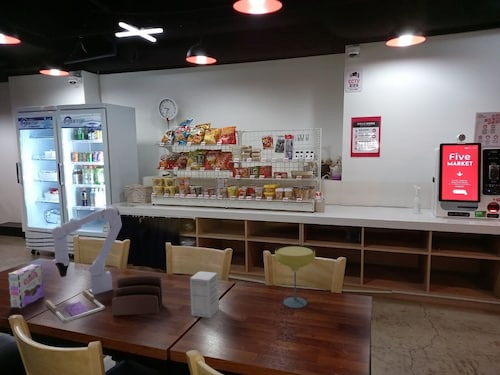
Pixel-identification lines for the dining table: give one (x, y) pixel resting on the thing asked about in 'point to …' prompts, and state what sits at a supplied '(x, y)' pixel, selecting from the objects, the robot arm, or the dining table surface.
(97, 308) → the frame
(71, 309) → the sponges
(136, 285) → the letter holder
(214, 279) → the supplement box
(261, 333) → the dining table surface
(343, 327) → the dining table surface
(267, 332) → the dining table surface
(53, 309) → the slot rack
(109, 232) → the robot arm
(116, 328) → the dining table surface
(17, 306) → the candy box
